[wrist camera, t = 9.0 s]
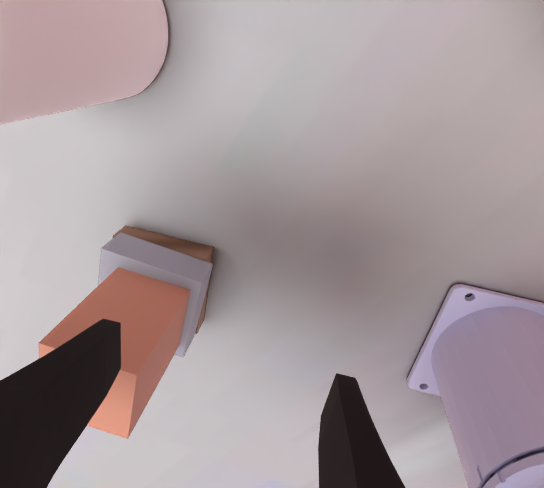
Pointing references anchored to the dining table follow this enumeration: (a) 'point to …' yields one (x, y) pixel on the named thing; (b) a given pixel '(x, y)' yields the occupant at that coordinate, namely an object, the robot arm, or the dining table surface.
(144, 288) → the brick block
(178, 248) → the tower lower
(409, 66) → the dining table surface
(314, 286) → the dining table surface
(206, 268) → the tower upper
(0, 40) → the can
